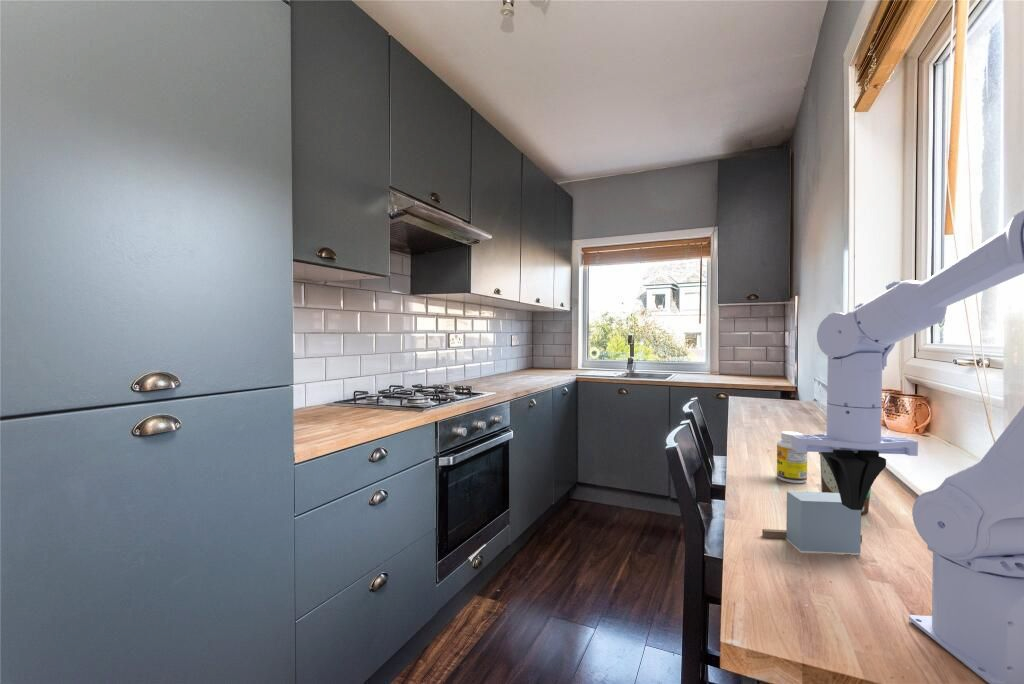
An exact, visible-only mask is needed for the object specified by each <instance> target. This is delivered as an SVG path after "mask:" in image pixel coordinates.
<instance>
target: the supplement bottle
mask: <svg viewBox="0 0 1024 684" xmlns="http://www.w3.org/2000/svg"><path fill="white" fill-rule="evenodd" d="M792 435H804V434H803V433H801V432H797V431H789V430H788V431H787V430H786V431H785V430H784V431H781V433H780V436H781V439H780V440H777V442H776V477H777V478H778V479H779V480H780V481H783V482H785V483H791V484H804V483H806V482H807V480H808V452H807V453H799V452H797V451H795V450H793V449H791V437H792Z"/></svg>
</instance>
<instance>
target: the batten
mask: <svg viewBox="0 0 1024 684" xmlns="http://www.w3.org/2000/svg"><path fill="white" fill-rule="evenodd" d="M761 531H762V537H763V538H764V539H782V540H783V539H784V540H786V529H770V528H768V529H767V528H763V529H762V530H761ZM862 542H863V535H862V534H861V543H862Z"/></svg>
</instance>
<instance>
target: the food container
mask: <svg viewBox="0 0 1024 684" xmlns="http://www.w3.org/2000/svg"><path fill="white" fill-rule="evenodd" d="M818 455H819V458H820V459H819V460H820V461H819V462H820V487H821V488H820V489H821V491H820V492H825V493H839V490H838V487H837V484H836V481H835V478H834V476H833V473H832V471H831V469H830V467H829V465H828V464H827V462H826V460H825V459H824V457H823V455H822V452H818ZM871 491H872V487H871V488H870V490H869V492H868V495H867V497H866V500H865V503H864V506H863V509H862V510H861V517H863V516H866V515H868V513H869V509H870V501H871V500H870V499H871Z"/></svg>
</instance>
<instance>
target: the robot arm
mask: <svg viewBox="0 0 1024 684" xmlns="http://www.w3.org/2000/svg"><path fill="white" fill-rule="evenodd" d="M1023 274H1024V209H1023V210H1021V211H1019V212H1017V213H1015V214H1014V215H1013V217H1012V218H1011V219H1010V221H1009V222H1008V223H1007V226H1006V227H1005V228H1004V229H1002V230H1001V231H999V232H998V233H996V234H994V235H993V236H991V237H990V238H988V239H987V240H985V241H984V242H983V243H981V244H979V245H978V246H976V247H975V248H973V249H972V250H970V251H968V252H967V253H965V254H963V256H961V257H959V258H957V259H956V260H954V261H953V262H950V264H948V265H947V266H946V267H943V268H942V269H940V270H939V271H937V272H936V273H934V274H933V275H931V276H930V277H928V278H926V279H925V280H923V281H921V280H914V279H908V280H903V281H900V280H895V281H892V282H890V283H889V284H887V285H886V286H885V289H886V290H885V291H883V292H882V293H880V294H879V295H877V296H875V297H873V298H871V299H870V300H869V301H866V302H861V303H858V304H857V305H856V306H854V309H853V310H852V311H849V312H847V313H843V312H831V313H829V314H828V315H827V316H826V317H825V318H824V319H823V320H822V321H821V322H820V323H819V326H818V328H817V332H816V342H817V344H818V347H819V349H820V350H821V352H822V353H823V354H825V355H826V356H827V373H826V375H827V379H826V380H827V381H826V382H827V384H826V386H827V387H826V392H827V393H826V433H818V434H817V433H815V434H813V433H812V434H803V435H792V437H791V449H793V450H795V451H797V452H799V453H807V454H808V452H810V453H811V452H812V453H819V452H822V455H823V457H824V459H825V460H826V462H827V464H828V465H829V467H830V469H831V471H832V473H833V476H834V478H835V481H836V484H837V487H838V490H839V494H840V498H841V502H842V505H844V506H846V507H847V508H849V509H851V510H862V509H863V506H864V503H865V500H866V497H867V495H868V492H869V490H870V488H871V489H872V485H873V483H874V482H875V481H876V479H877V477H878V476H879V475H880V474H881V472H883V470H884V469H886V467H887V459H886V458H885V457H882V456H880V454H882V455H883V454H885V455H887V454H888V455H906V456H911V457H918V454H919V450H918V448H919V441H918V440H916V439H915V440H914V439H911V438H908V437H895V436H894V437H893V436H882V411H883V410H882V408H883V407H882V403H883V402H882V398H883V397H882V396H883V391H882V390H883V388H882V387H883V371H884V370H885V367H887V366H888V365H887V363H888V362H887V361H888V357H889V354H890V353H892V351H893V349H894V347H895V345H896V343H898V342H899V341H902V340H904V339H906V338H909V337H910V336H914V335H915V334H917V333H919V332H921V331H924V330H926V329H928V328H930V327H933V326H935V325H937V324H938V323H941V322H942V321H943V320H944V318H945V315H946V313H947V307H948V306H951V305H953V304H955V303H958V302H960V301H962V300H964V299H967V298H969V297H972V296H974V295H976V294H979V293H981V292H983V291H985V290H988V289H991V288H993V287H995V286H998V285H1000V284H1002V283H1004V282H1007V281H1010V280H1011V279H1014V278H1016V277H1018V276H1021V275H1023ZM911 516H912V521H913V523H914V526H915V530H916V531H917V533H918V536H920V538H921V539H922V540H923V542H924V543H925V544H926V545H927V550H928V551H930V552H932V581H931V582H932V583H931V584H932V586H931V588H932V592H931V593H932V594H931V595H932V596H931V615H920V614H910V615H908V620H909V621H910V622H911V623H913V624H914V625H915V626H916V627H918V628H919V629H920V630H921V631H922V632H924V633H925V634H926V635H927V636H929V637H930V638H931V639H932V640H934V641H935V642H936V643H937V644H939V645H940V646H941V647H942V648H944V649H945V650H946V651H948V653H949V654H951V655H952V656H954V657H955V658H956V659H957V660H959V661H961V662H962V664H964V665H965V666H966V667H968V668H969V670H972V672H974V673H975V674H977V675H978V676H979V677H980V678H981V679H983V680H984V681H985V682H987V683H988V684H1024V405H1023V406H1022V407H1021V409H1020V410H1019V411H1018V412H1017V414H1016V415H1015V416H1014V418H1013V419H1011V421H1010V423H1009V424H1008V425H1007V427H1006V428H1005V429H1004V430H1003V432H1002V433H1001V434H1000V436H998V438H997V439H996V440H995V442H994V443H993V444H992V445H991V447H990V448H989V450H988V451H987V452H986V453H985V454H984V456H983V457H982V459H980V460H979V461H978V462H977V463H975V464H973V465H970V466H969V467H966V468H963V469H962V470H960V471H958V472H956V473H955V472H954V473H953V474H951V475H949V476H947V477H945V479H944V480H943V482H942V483H941V484H940V485H939V486H938V487H937V488H935V489H932V490H929V491H926V492H924V493H922V494H920V495H919V496H918V497H917V498H916V499H915V500H914V503H913V505H912V514H911Z"/></svg>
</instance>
